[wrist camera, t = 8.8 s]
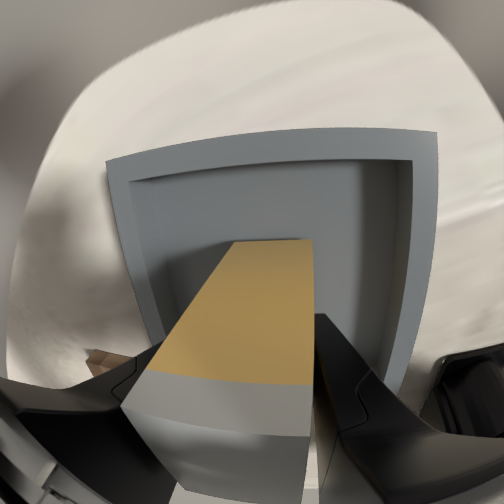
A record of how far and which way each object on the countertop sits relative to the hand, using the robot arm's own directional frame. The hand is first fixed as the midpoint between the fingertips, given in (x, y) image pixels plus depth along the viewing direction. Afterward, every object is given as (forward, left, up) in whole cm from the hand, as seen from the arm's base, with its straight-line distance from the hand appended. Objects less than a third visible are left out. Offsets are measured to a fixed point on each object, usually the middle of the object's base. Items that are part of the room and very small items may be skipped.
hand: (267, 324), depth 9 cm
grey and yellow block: (0, 0, -2) cm, 2 cm away
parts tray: (0, 0, -4) cm, 4 cm away
